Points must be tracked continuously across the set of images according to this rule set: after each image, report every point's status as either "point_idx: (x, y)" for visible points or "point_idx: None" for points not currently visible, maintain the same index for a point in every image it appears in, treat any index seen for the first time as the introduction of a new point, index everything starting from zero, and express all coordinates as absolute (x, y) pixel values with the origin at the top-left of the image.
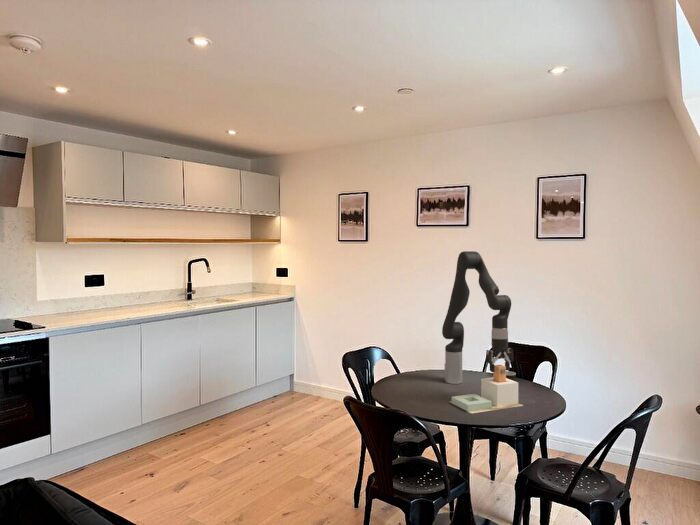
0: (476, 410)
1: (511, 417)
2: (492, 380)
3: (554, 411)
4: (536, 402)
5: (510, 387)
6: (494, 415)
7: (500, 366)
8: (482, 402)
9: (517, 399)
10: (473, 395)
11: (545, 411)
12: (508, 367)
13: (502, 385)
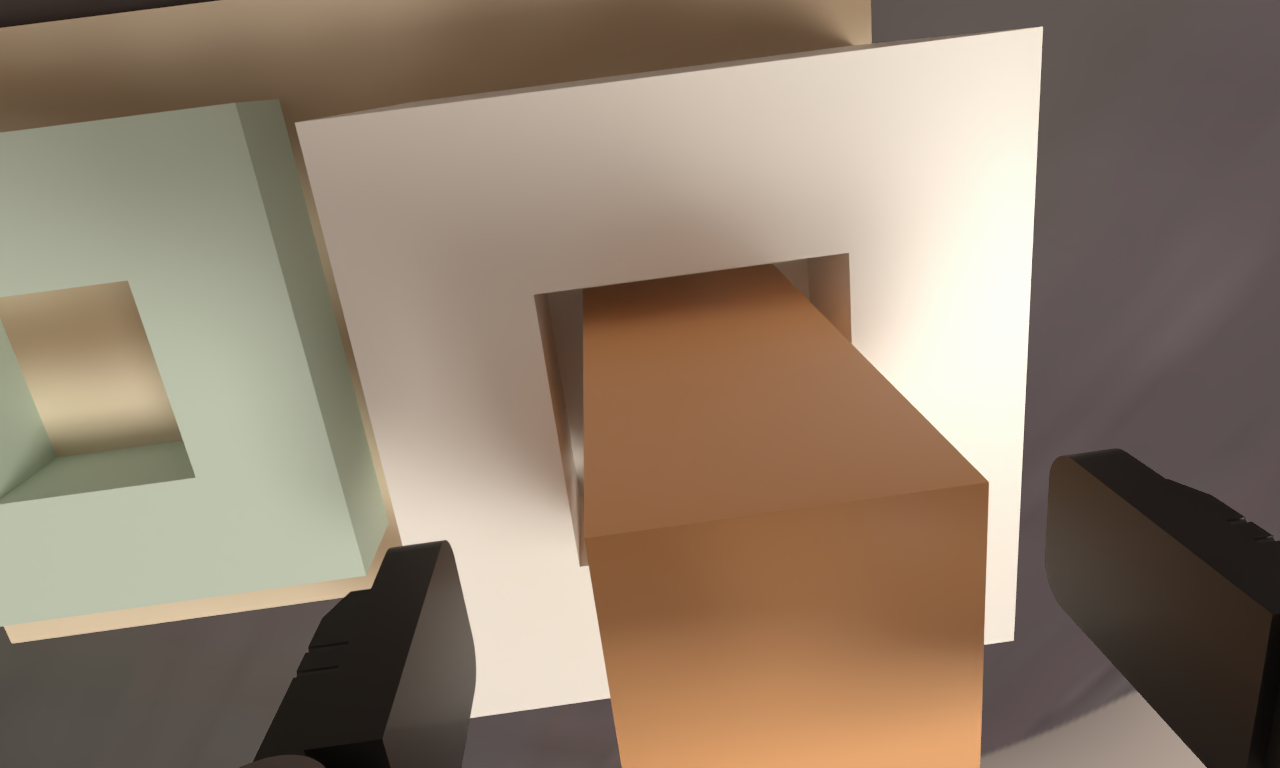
0: None
1: (512, 749)
2: (535, 362)
3: (1114, 683)
4: (1198, 360)
5: None
6: None
7: (783, 740)
8: (195, 582)
9: None
10: (171, 207)
11: (1020, 665)
12: (1134, 654)
13: (581, 690)
